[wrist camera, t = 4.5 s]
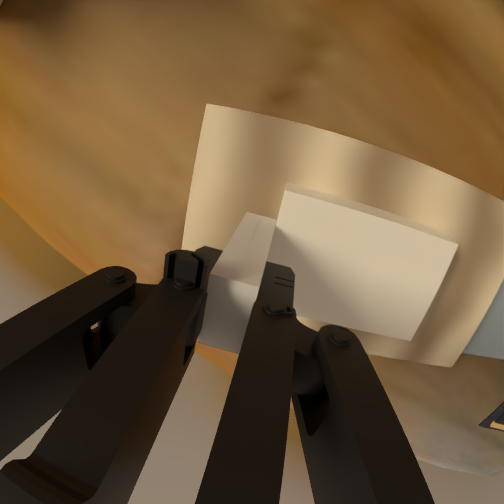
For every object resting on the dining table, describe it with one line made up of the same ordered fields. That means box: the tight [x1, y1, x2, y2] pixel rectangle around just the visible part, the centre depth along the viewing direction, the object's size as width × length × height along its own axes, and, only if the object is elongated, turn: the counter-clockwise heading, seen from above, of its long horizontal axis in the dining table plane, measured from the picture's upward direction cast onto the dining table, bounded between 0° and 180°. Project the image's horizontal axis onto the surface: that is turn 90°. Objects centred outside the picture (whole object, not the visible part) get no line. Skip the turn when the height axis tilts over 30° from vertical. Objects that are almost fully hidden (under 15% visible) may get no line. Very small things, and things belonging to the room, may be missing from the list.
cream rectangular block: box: [266, 182, 458, 341], centre depth 15 cm, size 9×6×2 cm, turn 78°
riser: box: [182, 104, 504, 368], centre depth 18 cm, size 20×12×4 cm, turn 78°
